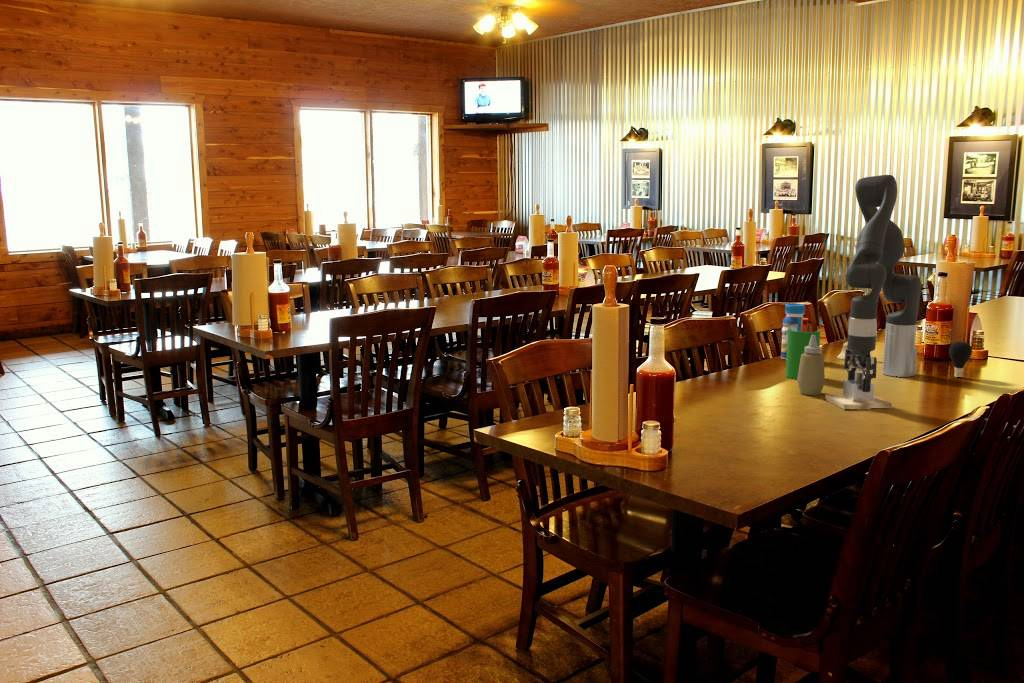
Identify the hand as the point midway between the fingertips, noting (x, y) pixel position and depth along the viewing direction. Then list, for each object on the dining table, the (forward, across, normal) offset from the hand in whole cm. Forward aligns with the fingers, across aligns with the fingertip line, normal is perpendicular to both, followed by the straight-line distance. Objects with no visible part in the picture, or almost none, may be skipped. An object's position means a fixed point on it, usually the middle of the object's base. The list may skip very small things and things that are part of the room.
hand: (858, 388), depth 256 cm
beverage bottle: (+5, +65, -8) cm, 66 cm away
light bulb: (+5, +29, -49) cm, 57 cm away
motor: (+5, +36, +1) cm, 36 cm away
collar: (+3, 0, 0) cm, 3 cm away
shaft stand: (+5, 0, 0) cm, 5 cm away
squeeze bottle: (+5, +14, +8) cm, 17 cm away
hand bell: (+5, +64, -29) cm, 70 cm away
